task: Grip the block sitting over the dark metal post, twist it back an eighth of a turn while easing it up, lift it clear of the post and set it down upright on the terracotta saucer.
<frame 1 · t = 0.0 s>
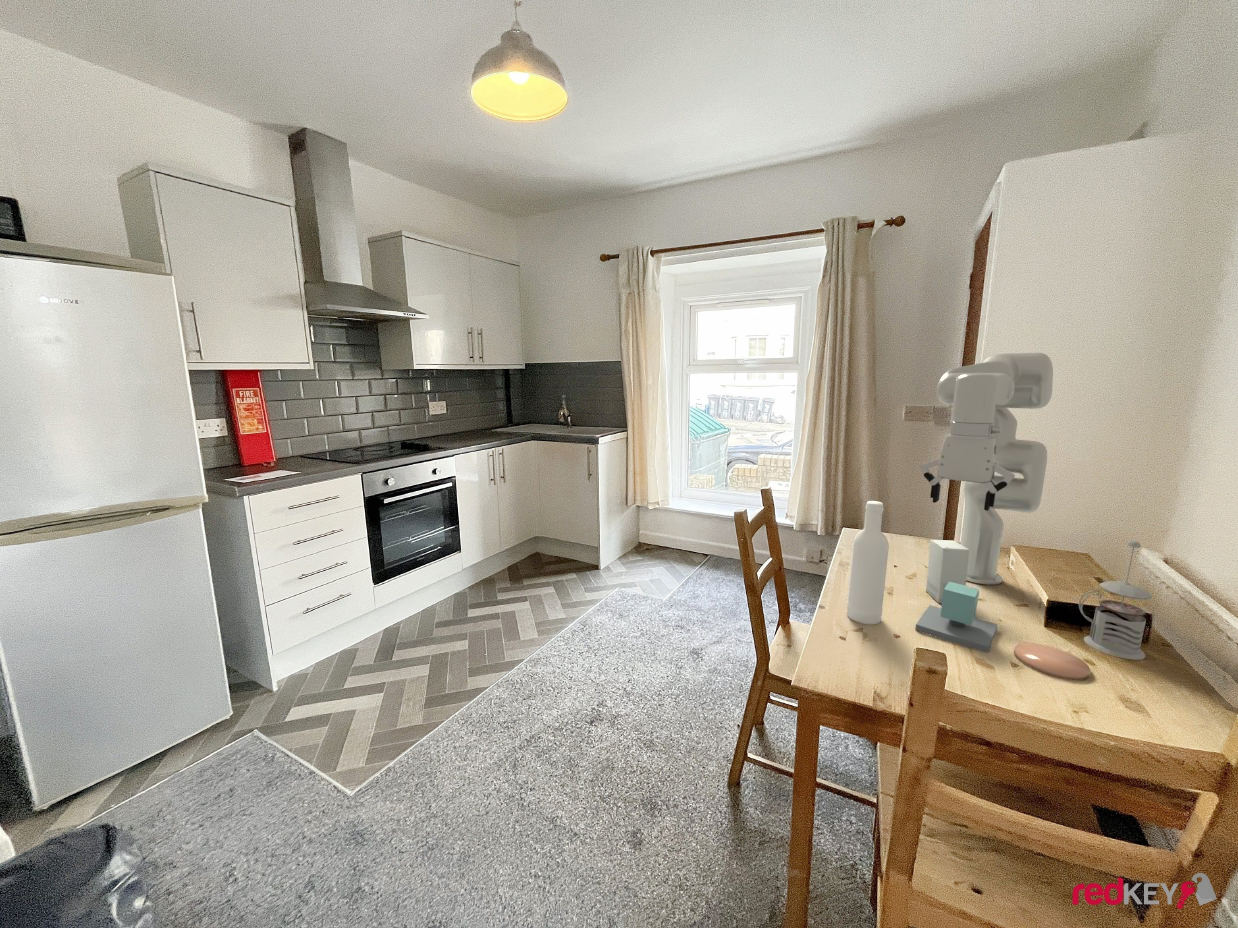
hand: (960, 505, 108), 31 cm above the table, tool pointing down, fingers open, 9 cm apart
post board: (956, 629, 114), on the table
french press: (1107, 646, 108), on the table
block: (957, 616, 114), point 3 cm above the table, touching post board
skincare box: (942, 598, 131), on the table
bottle: (863, 617, 120), on the table
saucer: (1050, 662, 101), on the table
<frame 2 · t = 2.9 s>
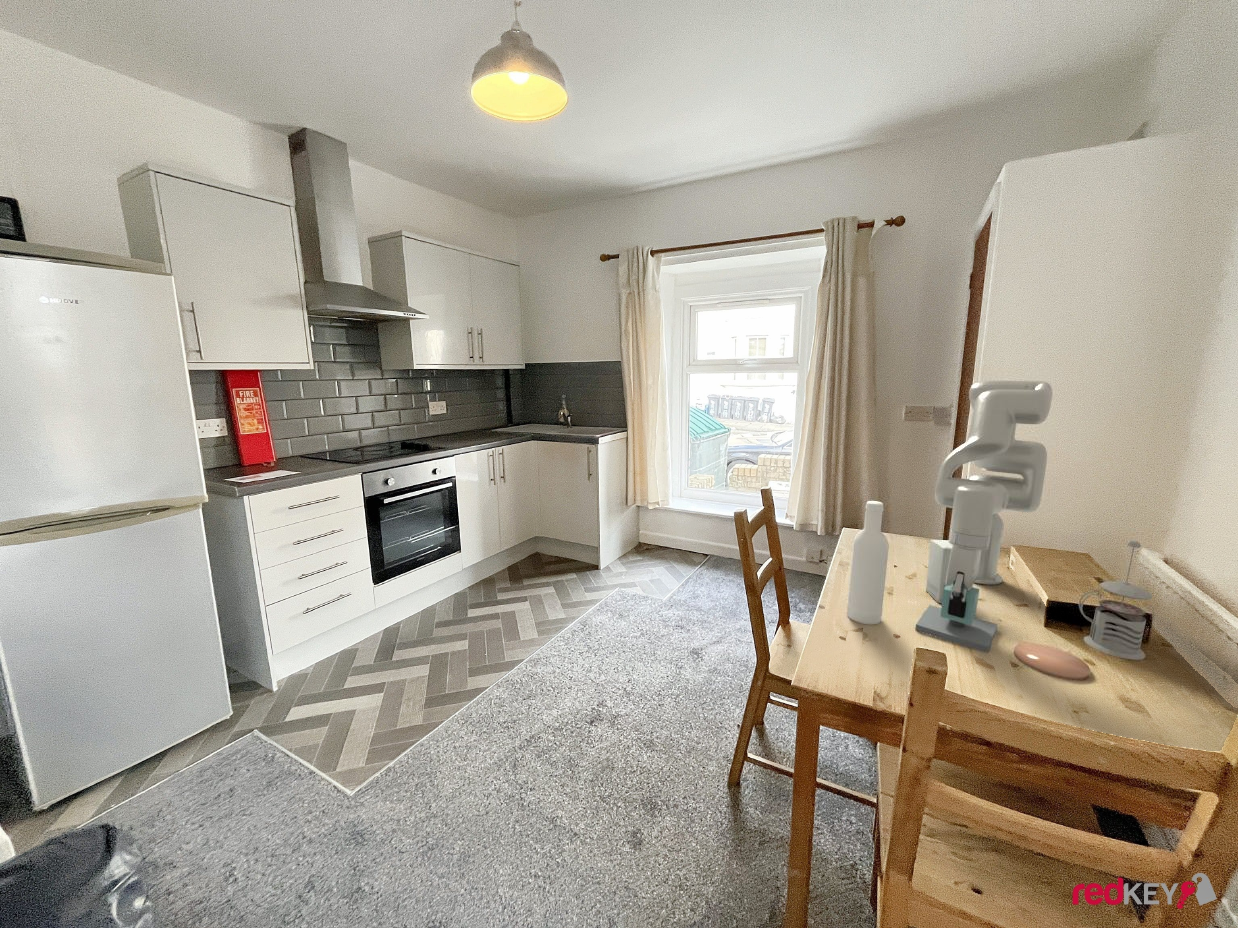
hand: (958, 610, 113), 5 cm above the table, tool pointing down, fingers closed on block, 6 cm apart
block: (957, 616, 114), point 3 cm above the table, touching gripper, post board
everything else where it was.
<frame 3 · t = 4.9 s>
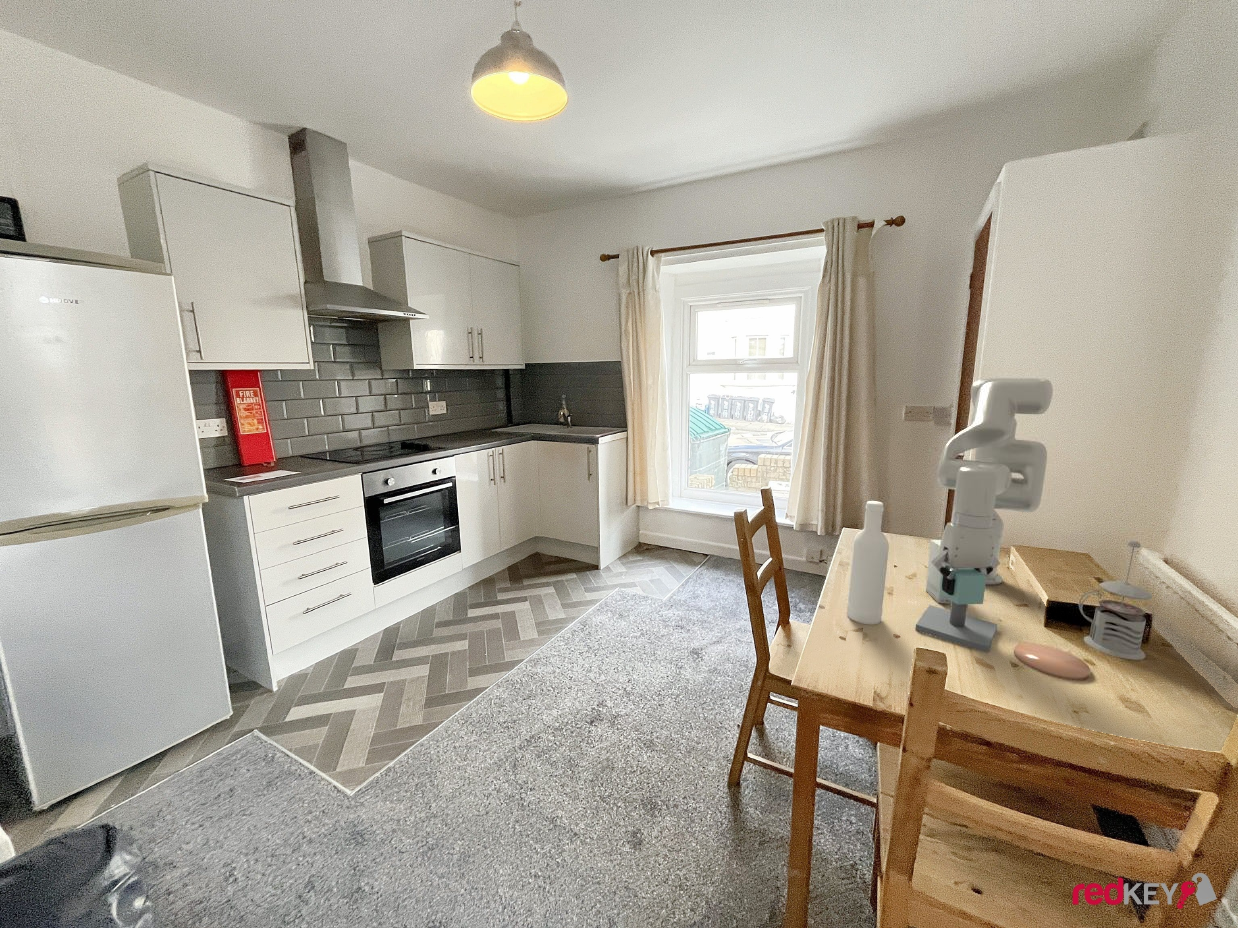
hand: (961, 591, 113), 10 cm above the table, tool pointing down, fingers closed on block, 5 cm apart
block: (960, 598, 113), point 8 cm above the table, touching gripper
everything else where it was.
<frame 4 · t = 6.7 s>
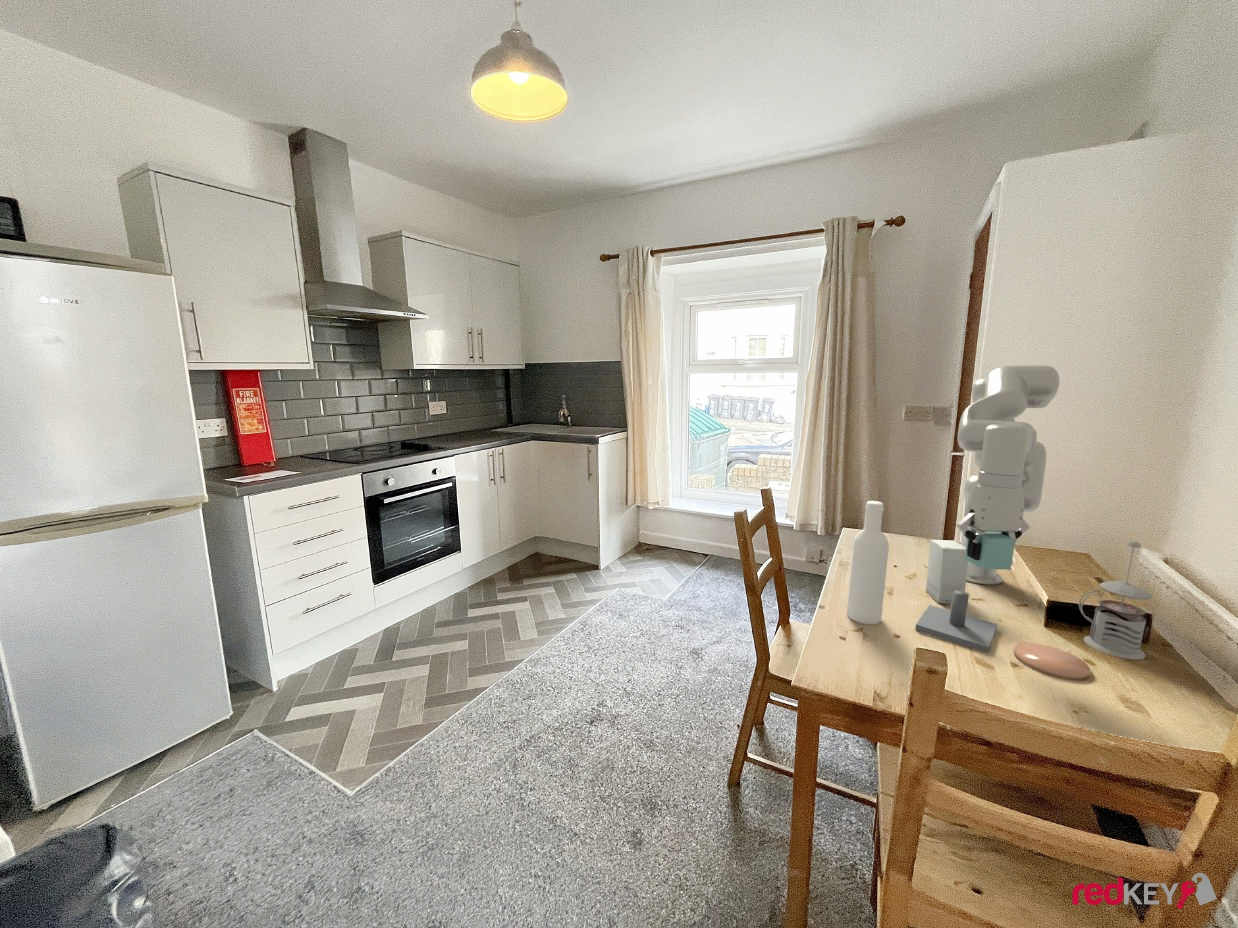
hand: (988, 557, 108), 20 cm above the table, tool pointing down, fingers closed on block, 5 cm apart
block: (986, 564, 108), point 18 cm above the table, touching gripper
everything else where it was.
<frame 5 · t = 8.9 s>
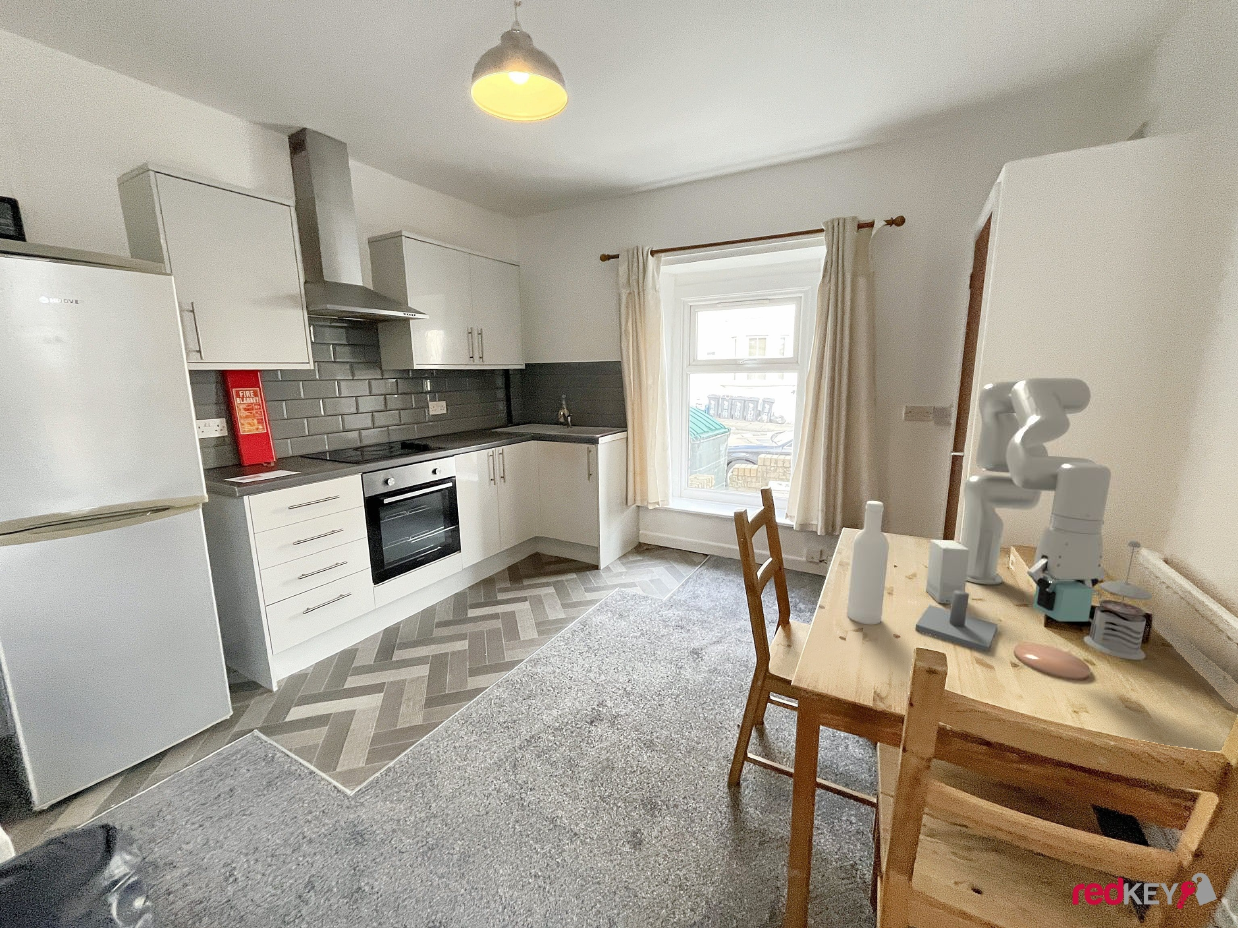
hand: (1060, 606, 99), 13 cm above the table, tool pointing down, fingers closed on block, 5 cm apart
block: (1059, 613, 99), point 11 cm above the table, touching gripper
everything else where it was.
when the fingers open (4 cm above the table, at t = 10.9 s): block drops 1 cm, resting on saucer.
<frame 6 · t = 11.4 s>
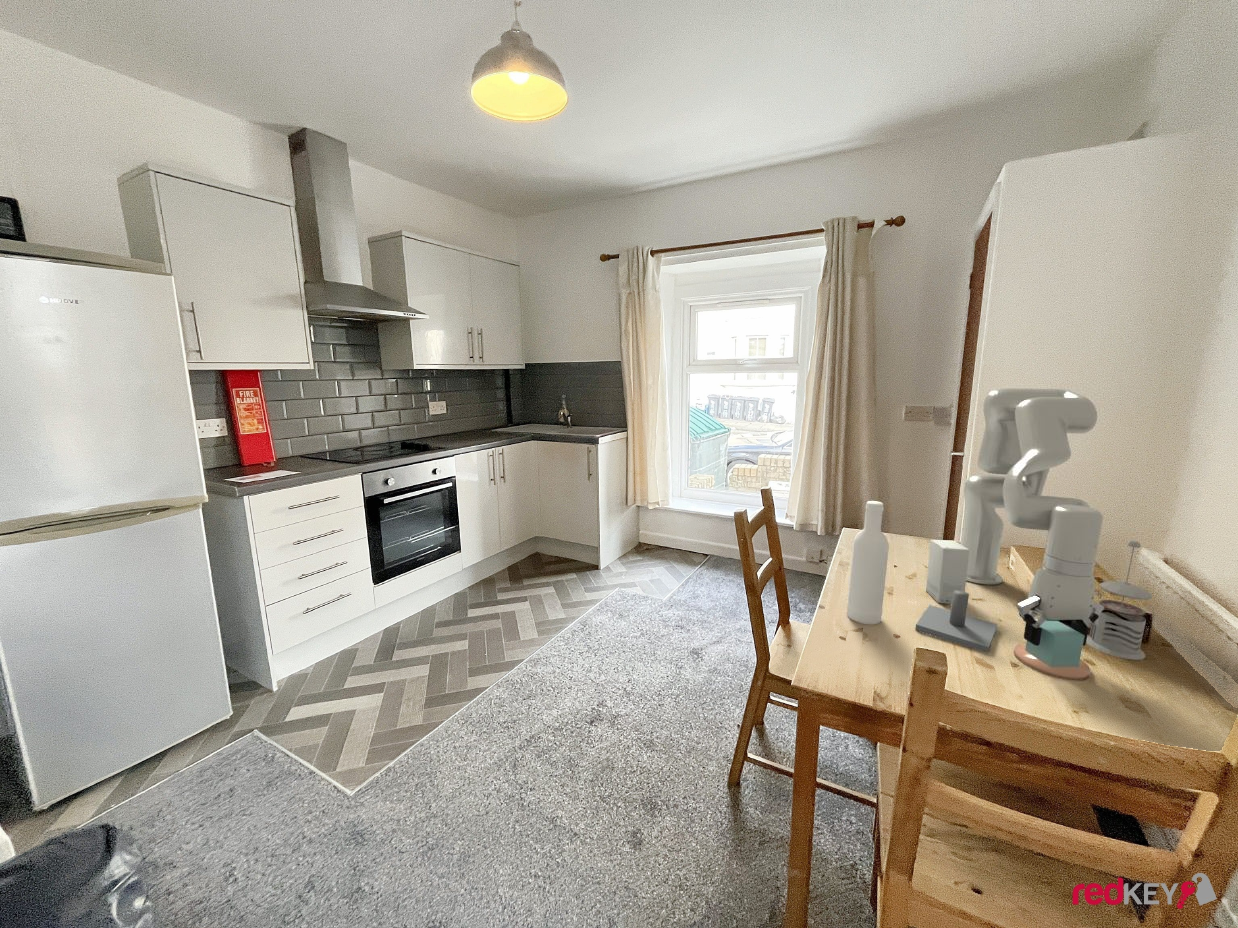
hand: (1053, 641, 100), 5 cm above the table, tool pointing down, fingers open, 9 cm apart
block: (1051, 658, 101), point 1 cm above the table, touching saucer
everything else where it was.
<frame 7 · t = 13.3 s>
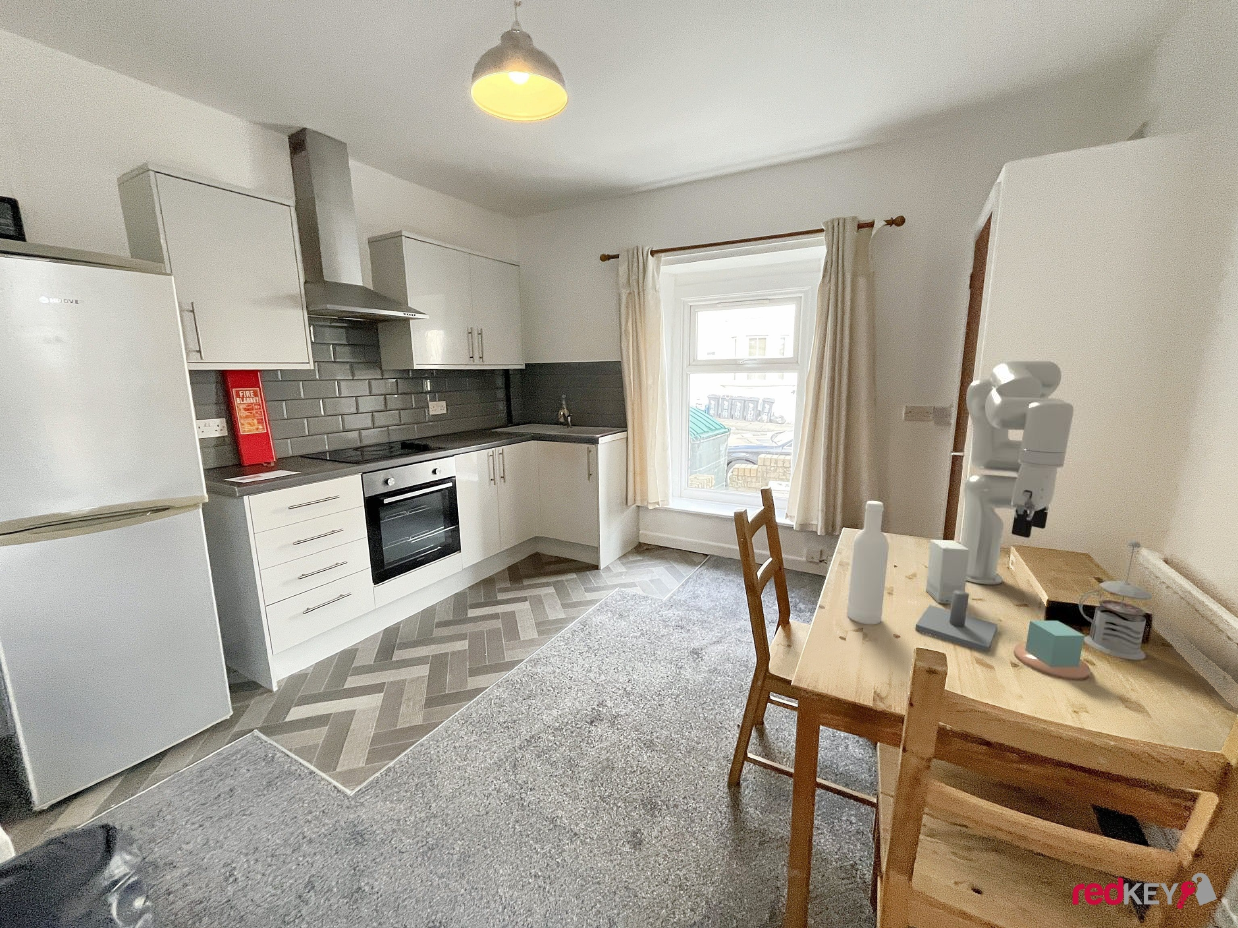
hand: (1028, 531, 108), 25 cm above the table, tool pointing down, fingers open, 9 cm apart
nothing on the table moved.
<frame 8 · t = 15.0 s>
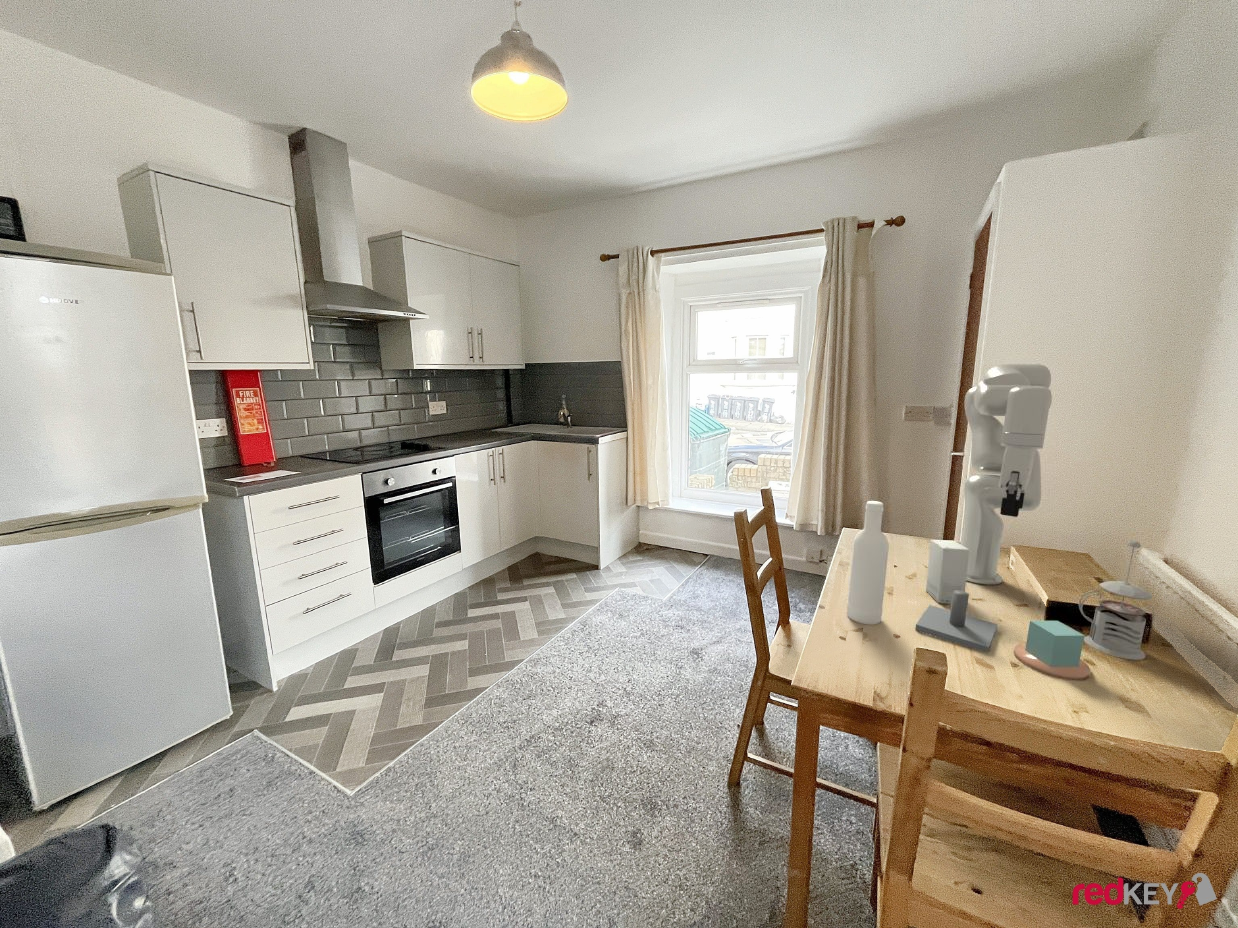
hand: (1011, 511, 113), 28 cm above the table, tool pointing down, fingers open, 9 cm apart
nothing on the table moved.
at the end: block 0.1 cm off-centre on the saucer, point 1.0 cm above the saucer's base; block tilted 0°; the gripper is holding nothing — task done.
